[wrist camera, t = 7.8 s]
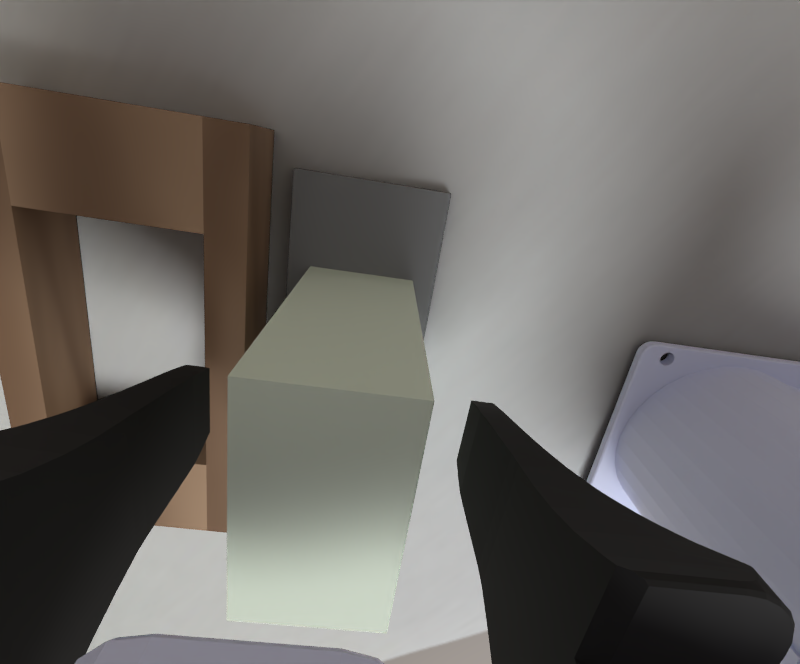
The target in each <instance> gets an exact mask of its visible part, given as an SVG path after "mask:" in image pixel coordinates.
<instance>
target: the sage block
mask: <svg viewBox="0 0 800 664" xmlns="http://www.w3.org/2000/svg"><path fill="white" fill-rule="evenodd" d="M433 405H434V396H433V391H432V385H431V380H430V374H429V369H428V363H427V357H426V352H425V346H424V341H423V335H422V330H421V324H420V319H419V313H418V308H417V302H416V296H415V291H414V285H413V281H412V280H405V279H398V278H391V277H384V276H377V275H370V274H363V273H355V272H348V271H341V270H334V269H327V268H320V267H313V266H310V267H309V269H308V270H307V271H306V273H305V274H304V275H303V277H302V278H301V279H300V281H299V282H298V283H297V285H296V286H295V287H294V289H293V290H292V291H291V293H290V294H289V295H288V297H287V298H286V299H285V300H284V302H283V303H282V304H281V306H280V307H279V308H278V310H277V311H276V312H275V314H274V315H273V316H272V318H271V319H270V320H269V322H268V323H267V324H266V326H265V327H264V328H263V330H262V331H261V332H260V334H259V335H258V336H257V338H256V339H255V340H254V342H253V343H252V344H251V346H250V347H249V348H248V350H247V351H246V352H245V354H244V355H243V356H242V358H241V359H240V360H239V362H238V363H237V364H236V366H235V367H234V368H233V370H232V371H231V372H230V374H229V375H228V405H227V621H236V622H249V623H261V624H273V625H286V626H298V627H311V628H323V629H336V630H348V631H361V632H373V633H385V634H387V630H388V625H389V620H390V615H391V610H392V605H393V600H394V596H395V591H396V586H397V581H398V576H399V571H400V566H401V561H402V557H403V552H404V547H405V542H406V537H407V532H408V527H409V522H410V517H411V513H412V508H413V503H414V498H415V493H416V488H417V483H418V478H419V474H420V469H421V464H422V459H423V454H424V449H425V444H426V439H427V434H428V430H429V425H430V420H431V415H432V410H433Z"/></svg>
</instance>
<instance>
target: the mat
mask: <svg viewBox="0 0 800 664" xmlns="http://www.w3.org/2000/svg"><path fill="white" fill-rule="evenodd" d="M450 198H451V193H447V192H441V191H435V190H429V189H422V188H416V187H410V186H404V185H398V184H391V183H385V182H379V181H373V180H367V179H360V178H354V177H348V176H342V175H336V174H329V173H323V172H317V171H311V170H305V169H298V168H294V175H293V192H292V208H291V225H290V241H289V258H288V275H287V291H286V298H287V297H288V295H289V294H290V293H291V291H292V290H293V289H294V287H295V286H296V285H297V283H298V282H299V281H300V279H301V278H302V277H303V275H304V274H305V273H306V271H307V270H308V269H309V267H310V266H313V267H320V268H327V269H334V270H341V271H348V272H355V273H363V274H370V275H377V276H384V277H391V278H398V279H405V280H412V281H413V285H414V291H415V296H416V302H417V308H418V313H419V319H420V324H421V330H422V335H423V341H424V336H425V330H426V325H427V320H428V314H429V309H430V304H431V299H432V293H433V288H434V283H435V277H436V272H437V267H438V261H439V256H440V251H441V246H442V240H443V235H444V230H445V224H446V219H447V214H448V208H449V203H450Z"/></svg>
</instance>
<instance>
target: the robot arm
mask: <svg viewBox="0 0 800 664" xmlns="http://www.w3.org/2000/svg"><path fill="white" fill-rule="evenodd" d="M665 353H668V356H667V357H666V359H664V360H662V361H660V358H661V357H662V355H664V354H665ZM209 433H210V368H207V367H199V366H191V365H185V366H181V367H178V368H176V369H173V370H170V371H168V372H165V373H163V374H161V375H158V376H156V377H154V378H151V379H149V380H146V381H144V382H142V383H139V384H137V385H135V386H132V387H130V388H127V389H125V390H123V391H120V392H118V393H115V394H113V395H110V396H107V397H105V398H102V399H100V400H97V401H94V402H92V403H89V404H86V405H84V406H81V407H79V408H76V409H73V410H70V411H67V412H64V413H61V414H58V415H55V416H52V417H48V418H45V419H42V420H38V421H35V422H31V423H28V424H25V425H21V426H17V427H13V428H9V429H5V430H1V431H0V664H384V663H383V662H382V661H380V660H379V659H378V658H375V657H371V656H368V655H364V654H360V653H356V652H353V651H349V650H345V649H339V648H326V647H314V646H301V645H289V644H276V643H264V642H251V641H239V640H226V639H214V638H201V637H189V636H176V635H164V634H149V635H139V636H128V637H118V638H115V639H112V640H109V641H106V642H105V643H103V644H101V645H100V646H98V647H97V648H95V649H93V650H92V651H90V652H88V653H87V654H86V652H87V650H88V648H89V645H90V643H91V641H92V639H93V637H94V635H95V633H96V631H97V629H98V627H99V625H100V623H101V621H102V619H103V617H104V615H105V613H106V611H107V609H108V607H109V605H110V603H111V601H112V599H113V597H114V595H115V593H116V591H117V589H118V587H119V585H120V584H121V582H122V580H123V578H124V576H125V574H126V572H127V570H128V569H129V567H130V565H131V563H132V561H133V559H134V557H135V555H136V553H137V552H138V550H139V548H140V547H141V545H142V543H143V542H144V540H145V539H146V537H147V535H148V534H149V532H150V531H151V529H152V528H153V526H154V525H155V523H156V522H157V520H158V519H159V517H160V516H161V514H162V513H163V511H164V510H165V508H166V507H167V505H168V504H169V502H170V501H171V499H172V498H173V496H174V495H175V493H176V492H177V490H178V489H179V487H180V486H181V484H182V483H183V481H184V480H185V478H186V477H187V475H188V474H189V472H190V471H191V469H192V467H193V466H194V464H195V463H196V461H197V459H198V457H199V455H200V453H201V450H202V448H203V446H204V444H205V442H206V440H207V437H208V435H209ZM457 468H458V479H459V487H460V494H461V499H462V503H463V507H464V511H465V516H466V520H467V524H468V528H469V532H470V536H471V540H472V544H473V548H474V552H475V556H476V560H477V564H478V569H479V574H480V579H481V584H482V590H483V597H484V605H485V612H486V619H487V627H488V635H489V643H490V651H491V660H492V664H800V362H798V361H791V360H784V359H777V358H770V357H762V356H755V355H748V354H741V353H734V352H727V351H720V350H713V349H706V348H698V347H691V346H684V345H677V344H670V343H663V342H656V341H649V342H646V343H644V344H643V345H641V346H640V347H639V349H638V350H637V352H636V355H635V357H634V360H633V362H632V365H631V367H630V370H629V373H628V375H627V378H626V380H625V383H624V385H623V388H622V391H621V393H620V396H619V398H618V401H617V404H616V406H615V409H614V411H613V414H612V416H611V419H610V422H609V424H608V427H607V429H606V432H605V435H604V437H603V440H602V442H601V445H600V447H599V450H598V453H597V455H596V458H595V460H594V463H593V466H592V468H591V471H590V473H589V476H588V478H587V481H585V480H583V479H582V478H580V477H579V476H577V475H576V474H575V473H573V472H572V471H571V470H569V469H568V468H567V467H565V466H564V465H563V464H562V463H560V462H559V461H558V460H557V459H555V458H554V457H553V456H552V455H551V454H549V453H548V452H547V451H546V450H545V449H543V448H542V447H541V446H540V445H539V444H538V443H536V442H535V441H534V440H533V439H532V438H531V437H530V436H529V435H528V434H526V433H525V432H524V431H523V430H522V429H521V428H520V427H519V426H518V425H517V424H516V423H515V422H513V421H512V420H511V419H510V418H509V417H508V416H507V415H506V414H505V413H504V412H503V411H501V410H500V409H499V408H498V407H497V406H495V405H494V404H493V403H486V402H478V401H471V405H470V409H469V413H468V417H467V421H466V425H465V429H464V433H463V437H462V441H461V445H460V449H459V453H458V458H457Z"/></svg>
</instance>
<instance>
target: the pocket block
mask: <svg viewBox="0 0 800 664" xmlns="http://www.w3.org/2000/svg"><path fill="white" fill-rule="evenodd" d="M273 148H274V130H271V129H267V128H263V127H259V126H255V125H251V124H246V123H240V122H234V121H228V120H222V119H216V118H210V117H204V116H198V115H192V114H186V113H181V112H175V111H169V110H163V109H157V108H151V107H145V106H139V105H133V104H127V103H121V102H115V101H109V100H103V99H97V98H91V97H85V96H79V95H73V94H67V93H61V92H55V91H49V90H43V89H37V88H31V87H25V86H19V85H13V84H7V83H1V82H0V376H1V381H2V385H3V390H4V395H5V400H6V405H7V410H8V415H9V419H10V424H11V428H13V427H17V426H21V425H25V424H28V423H31V422H35V421H38V420H42V419H45V418H48V417H52V416H55V415H58V414H61V413H64V412H67V411H70V410H73V409H76V408H79V407H81V406H84V405H86V404H89V403H92V402H94V401H97V393H96V384H95V375H94V367H93V358H92V350H91V341H90V333H89V324H88V315H87V307H86V298H85V290H84V281H83V272H82V264H81V255H80V247H79V238H78V230H77V221H76V215H78V216H84V217H91V218H98V219H105V220H111V221H118V222H125V223H132V224H139V225H145V226H152V227H159V228H166V229H172V230H179V231H186V232H193V233H199V234H204V310H205V367H207V368H210V433H209V435H208V437H207V440H206V442H205V444H204V446H203V448H202V450H201V453H200V455H199V457H198V459H197V461H196V463H195V464H194V466H193V467H192V469H191V471H190V472H189V474H188V475H187V477H186V478H185V480H184V481H183V483H182V484H181V486H180V487H179V489H178V490H177V492H176V493H175V495H174V496H173V498H172V499H171V501H170V502H169V504H168V505H167V507H166V508H165V510H164V511H163V513H162V514H161V516H160V517H159V519H158V520H157V522H156V523H155V526H166V527H176V528H186V529H196V530H206V531H217V532H227V405H228V375H229V374H230V372H231V371H232V370H233V368H234V367H235V366H236V364H237V363H238V362H239V360H240V359H241V358H242V356H243V355H244V354H245V352H246V351H247V350H248V348H249V347H250V346H251V344H252V343H253V342H254V340H255V339H256V338H257V336H258V335H259V334H260V332H261V331H262V330H263V328H264V327H265V326H266V310H267V287H268V264H269V241H270V217H271V194H272V171H273Z"/></svg>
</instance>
